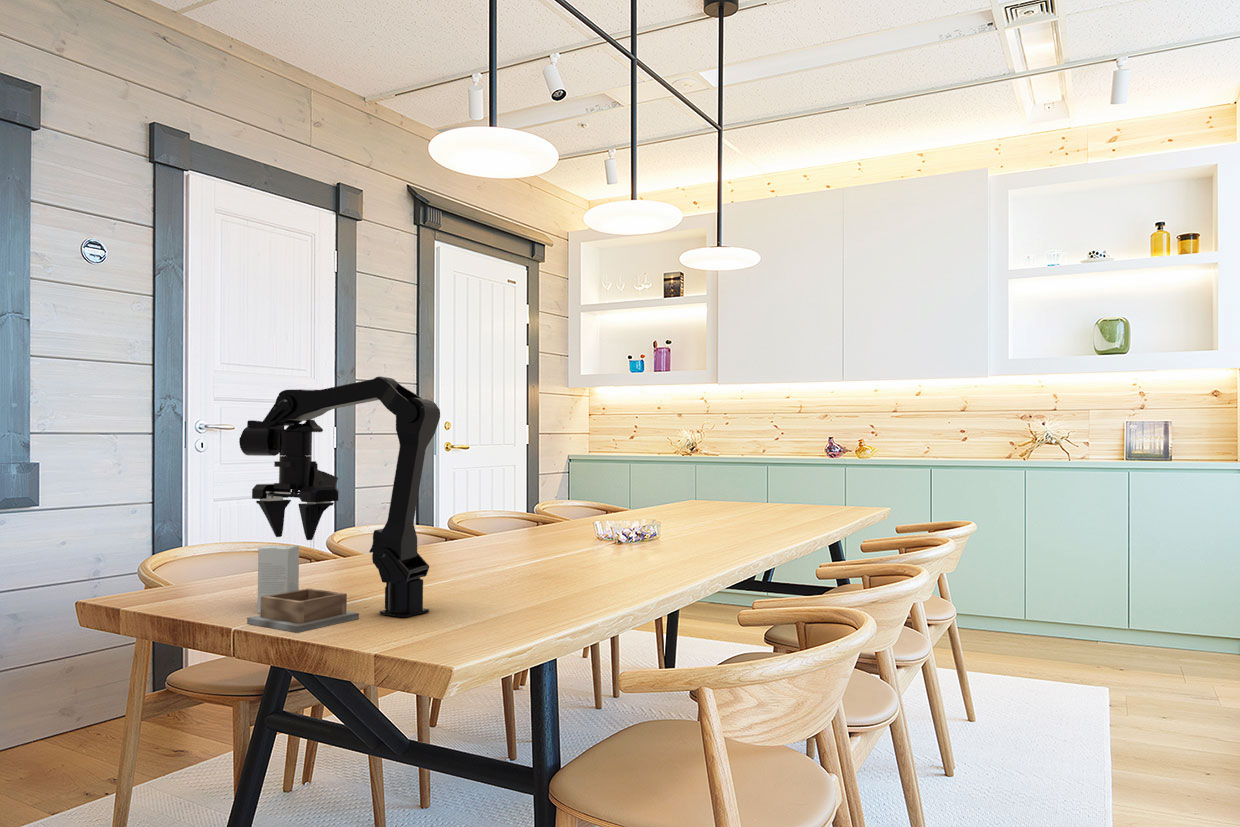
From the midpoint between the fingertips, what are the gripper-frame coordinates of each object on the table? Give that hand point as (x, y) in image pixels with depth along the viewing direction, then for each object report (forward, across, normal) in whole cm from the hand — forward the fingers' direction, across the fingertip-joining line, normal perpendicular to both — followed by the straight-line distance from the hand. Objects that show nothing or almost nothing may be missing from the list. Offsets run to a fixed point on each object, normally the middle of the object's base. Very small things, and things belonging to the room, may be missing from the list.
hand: (293, 538), depth 158 cm
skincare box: (+13, -1, +4) cm, 14 cm away
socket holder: (+13, -12, +6) cm, 19 cm away
